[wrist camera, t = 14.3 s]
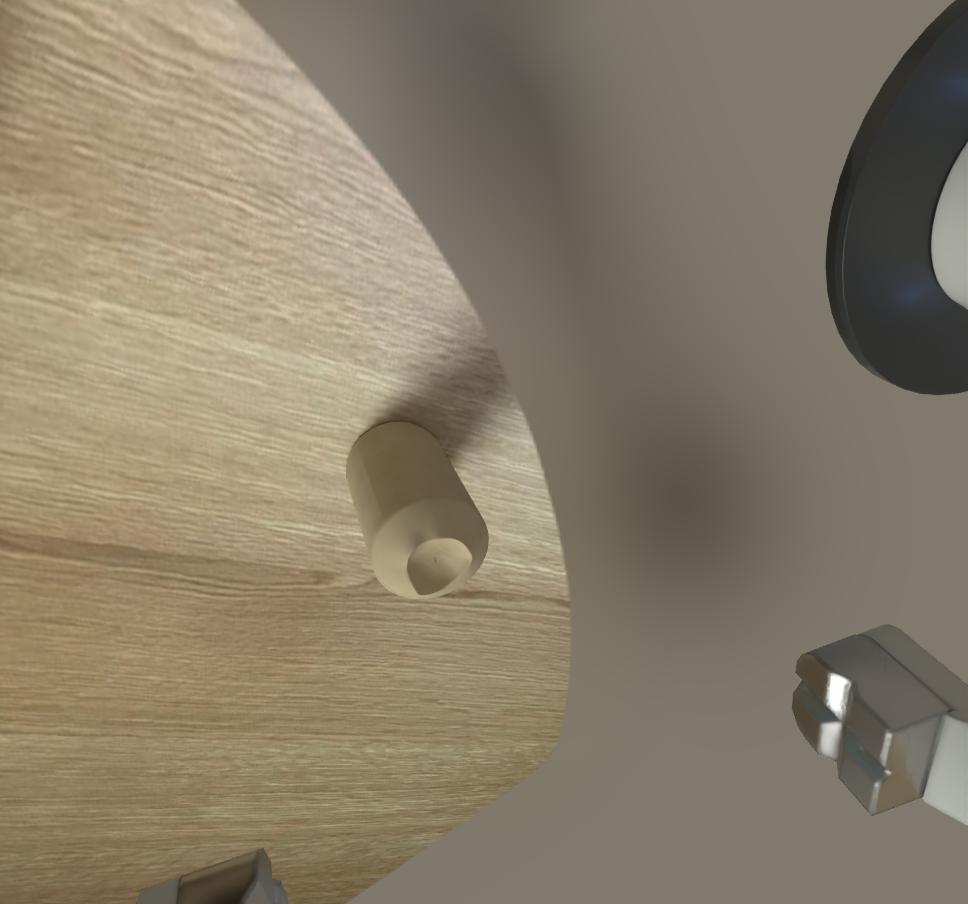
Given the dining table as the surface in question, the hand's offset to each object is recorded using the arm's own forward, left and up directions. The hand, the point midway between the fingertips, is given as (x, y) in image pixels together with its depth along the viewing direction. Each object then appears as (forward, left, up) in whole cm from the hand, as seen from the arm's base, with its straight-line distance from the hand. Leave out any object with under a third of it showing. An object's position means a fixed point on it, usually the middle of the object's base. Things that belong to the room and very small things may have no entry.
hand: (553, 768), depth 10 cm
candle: (-1, +10, -29) cm, 30 cm away
